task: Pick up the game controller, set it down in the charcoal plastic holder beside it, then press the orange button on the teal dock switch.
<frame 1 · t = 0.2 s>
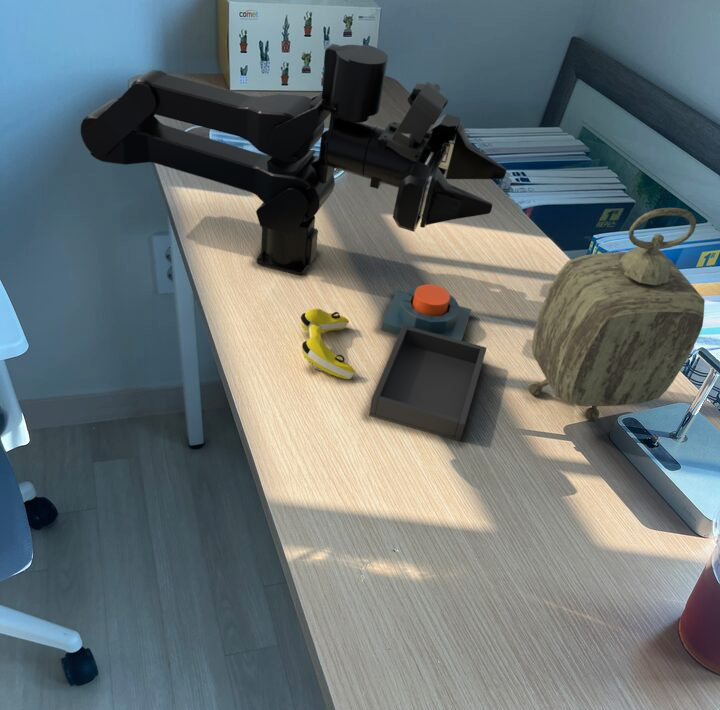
hand: (498, 190, 88), 17 cm above the table, tool horizontal, fingers open, 9 cm apart
tabletop clock: (582, 408, 89), on the table
dock switch: (425, 323, 96), on the table
holder: (427, 389, 88), on the table
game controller: (325, 353, 90), on the table
button: (431, 300, 94), point 3 cm above the table, slide at 0.1 cm
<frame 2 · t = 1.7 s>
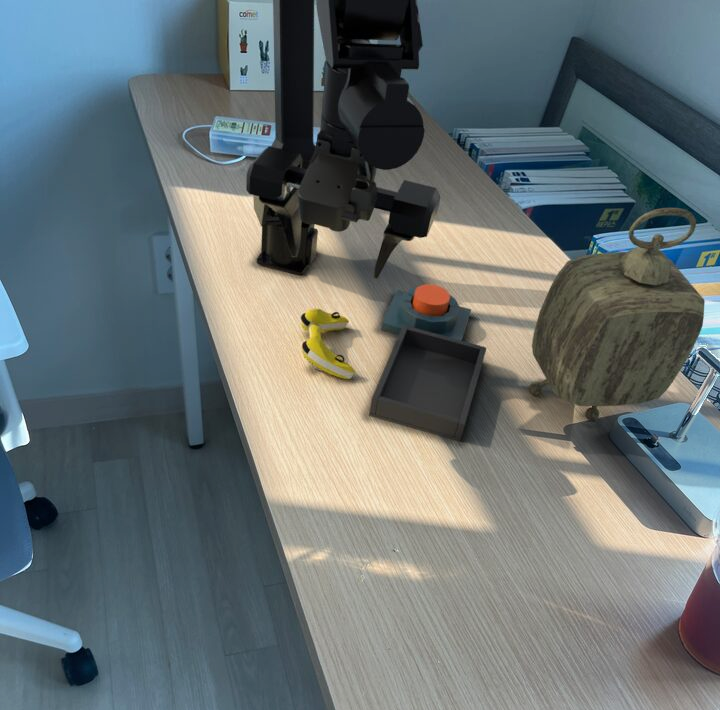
hand: (335, 265, 81), 12 cm above the table, tool pointing down, fingers open, 9 cm apart
nothing on the table moved.
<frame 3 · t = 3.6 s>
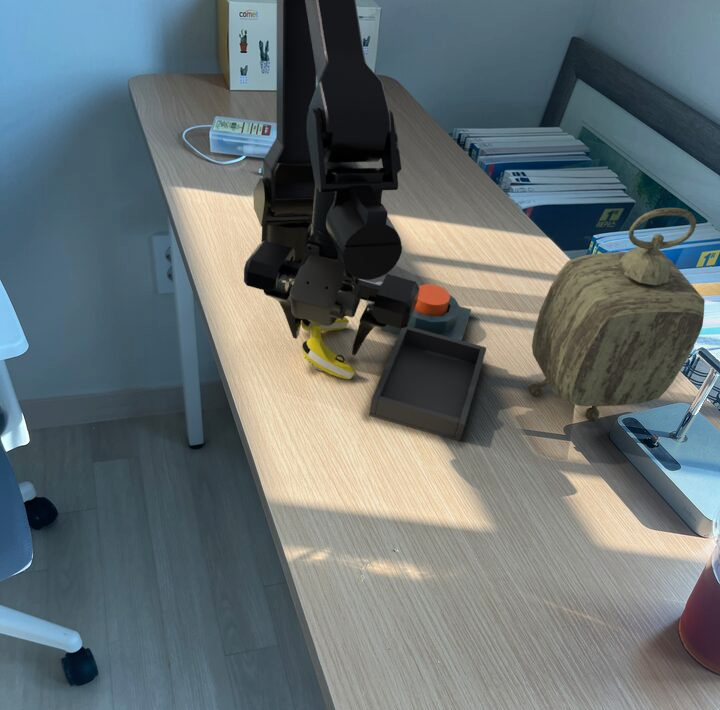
hand: (325, 344, 89), 1 cm above the table, tool pointing down, fingers closed on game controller, 7 cm apart
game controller: (325, 353, 90), on the table, touching gripper
everything else where it was.
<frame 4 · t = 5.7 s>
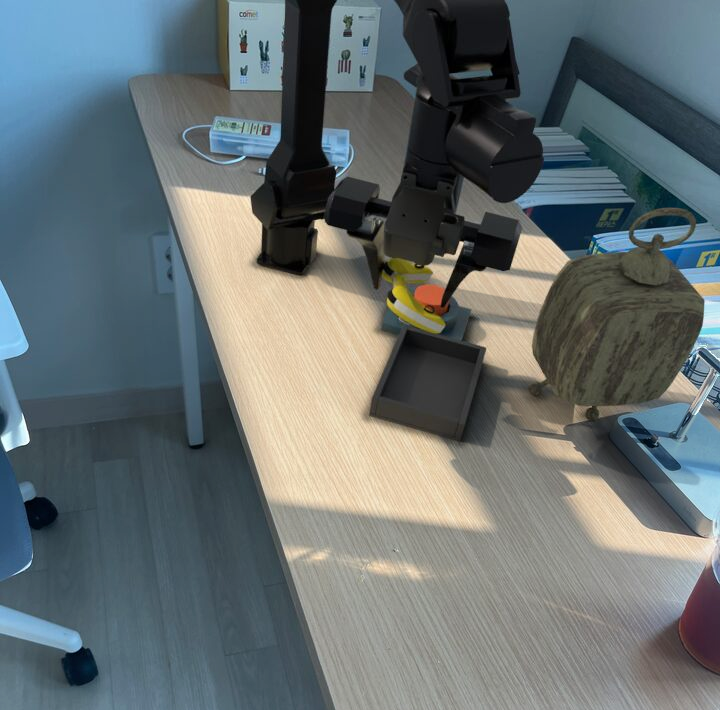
hand: (409, 296, 80), 11 cm above the table, tool pointing down, fingers closed on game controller, 7 cm apart
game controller: (409, 306, 81), point 10 cm above the table, touching gripper
everything else where it was.
when the fingers open (4 cm above the table, at t = 8.2 s): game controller drops 1 cm, resting on holder.
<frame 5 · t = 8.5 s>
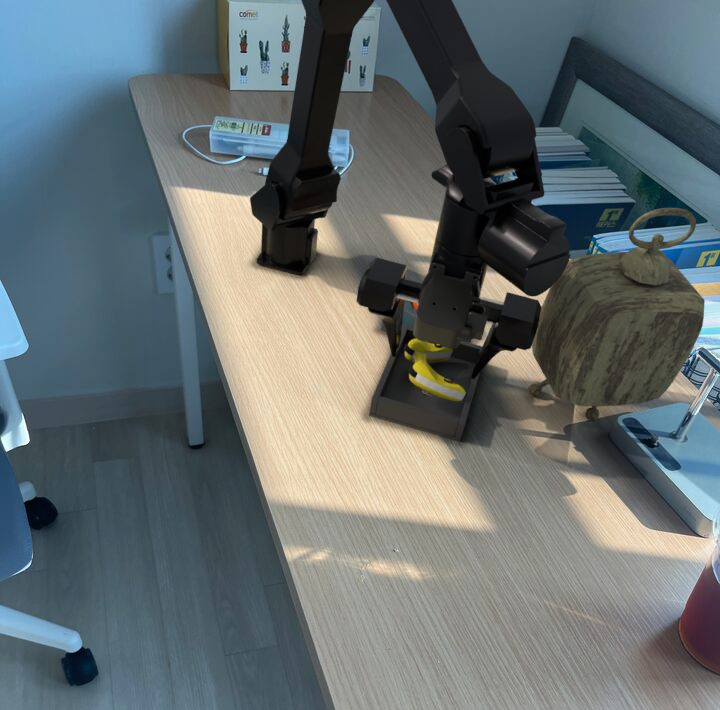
hand: (433, 365, 85), 4 cm above the table, tool pointing down, fingers open, 9 cm apart
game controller: (432, 381, 87), point 1 cm above the table, touching holder
everything else where it was.
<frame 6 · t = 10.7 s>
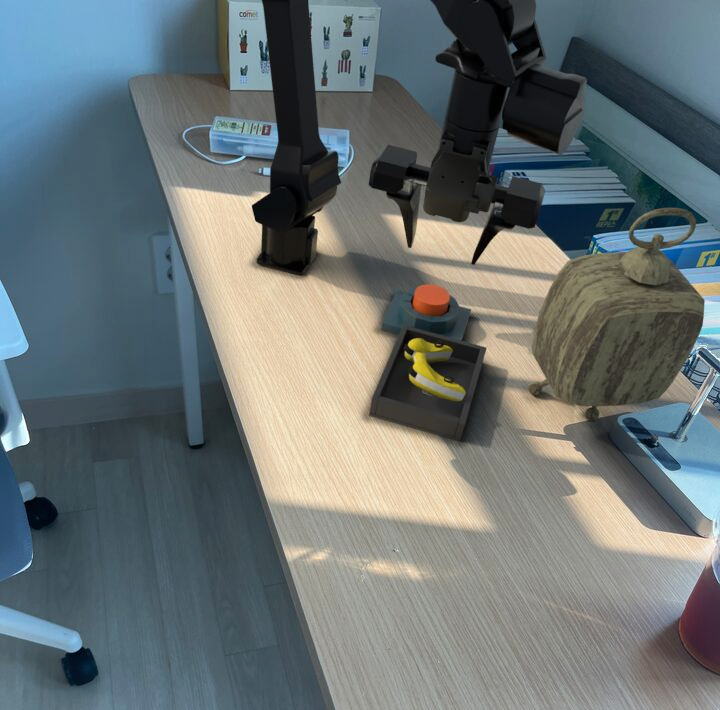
hand: (441, 254, 89), 10 cm above the table, tool pointing down, fingers open, 7 cm apart
nothing on the table moved.
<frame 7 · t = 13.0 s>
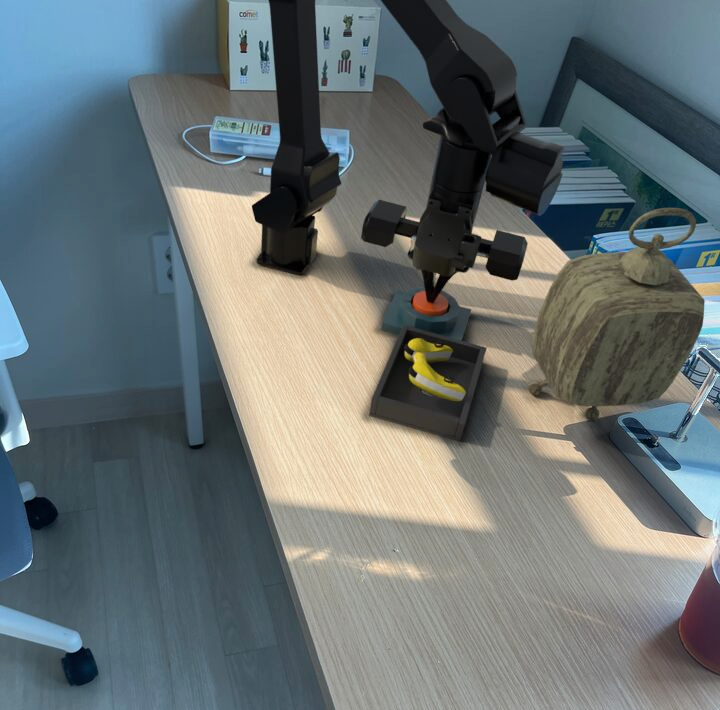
hand: (430, 300, 94), 3 cm above the table, tool pointing down, fingers closed, pressing on button
button: (429, 306, 95), point 3 cm above the table, slide at -0.8 cm, touching gripper
everything else where it was.
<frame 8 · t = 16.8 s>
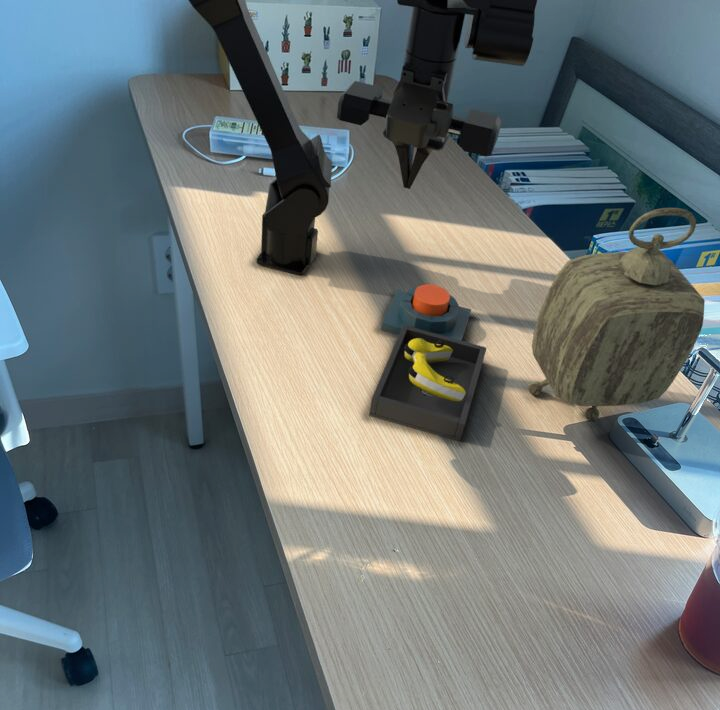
hand: (407, 187, 95), 12 cm above the table, tool pointing down, fingers closed
button: (431, 300, 94), point 3 cm above the table, slide at 0.1 cm
everything else where it was.
at the end: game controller 0.3 cm off-centre in the holder, point 1.2 cm above the holder's base; button pushed in 1.2 cm at the most during the clip, back to where it started at the end; button slide at 0.1 cm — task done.
